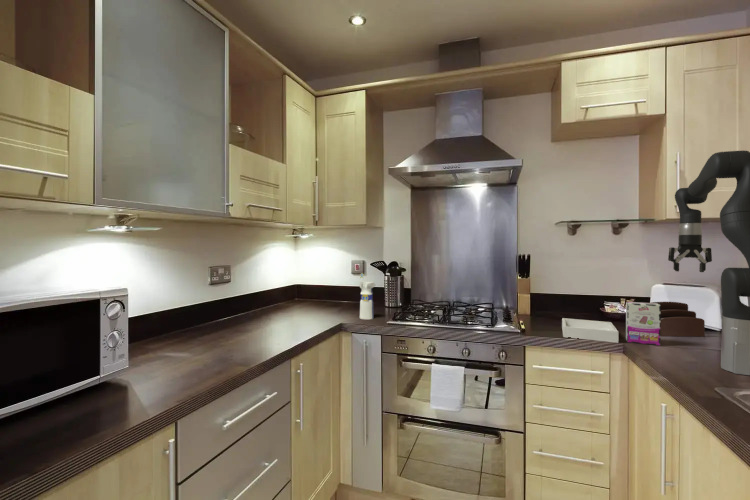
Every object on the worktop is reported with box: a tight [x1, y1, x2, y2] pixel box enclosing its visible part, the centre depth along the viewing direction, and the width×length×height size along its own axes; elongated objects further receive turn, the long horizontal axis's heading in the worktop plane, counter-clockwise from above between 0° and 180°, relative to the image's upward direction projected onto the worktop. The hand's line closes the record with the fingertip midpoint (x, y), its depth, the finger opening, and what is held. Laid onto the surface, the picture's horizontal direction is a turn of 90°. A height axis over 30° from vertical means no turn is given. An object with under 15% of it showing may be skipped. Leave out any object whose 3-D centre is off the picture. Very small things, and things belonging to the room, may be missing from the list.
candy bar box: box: [625, 301, 661, 346], centre depth 149 cm, size 11×5×16 cm, turn 62°
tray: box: [561, 317, 619, 344], centre depth 161 cm, size 20×20×4 cm
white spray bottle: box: [359, 272, 376, 320], centre depth 194 cm, size 8×9×25 cm
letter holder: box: [651, 301, 706, 338], centre depth 163 cm, size 10×20×14 cm, turn 88°
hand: (689, 271), depth 155 cm, fingers open, 8 cm apart
